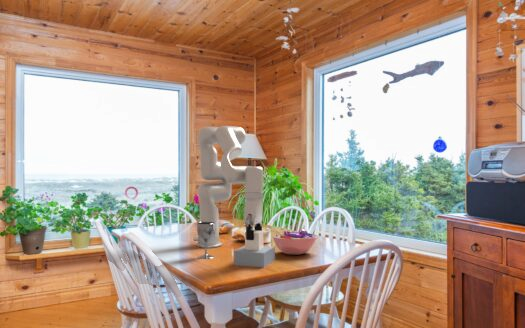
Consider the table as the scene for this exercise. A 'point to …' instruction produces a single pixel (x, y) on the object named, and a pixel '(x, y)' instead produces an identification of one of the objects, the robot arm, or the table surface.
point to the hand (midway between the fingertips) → (254, 237)
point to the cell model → (294, 242)
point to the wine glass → (205, 235)
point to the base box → (254, 256)
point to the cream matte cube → (255, 241)
